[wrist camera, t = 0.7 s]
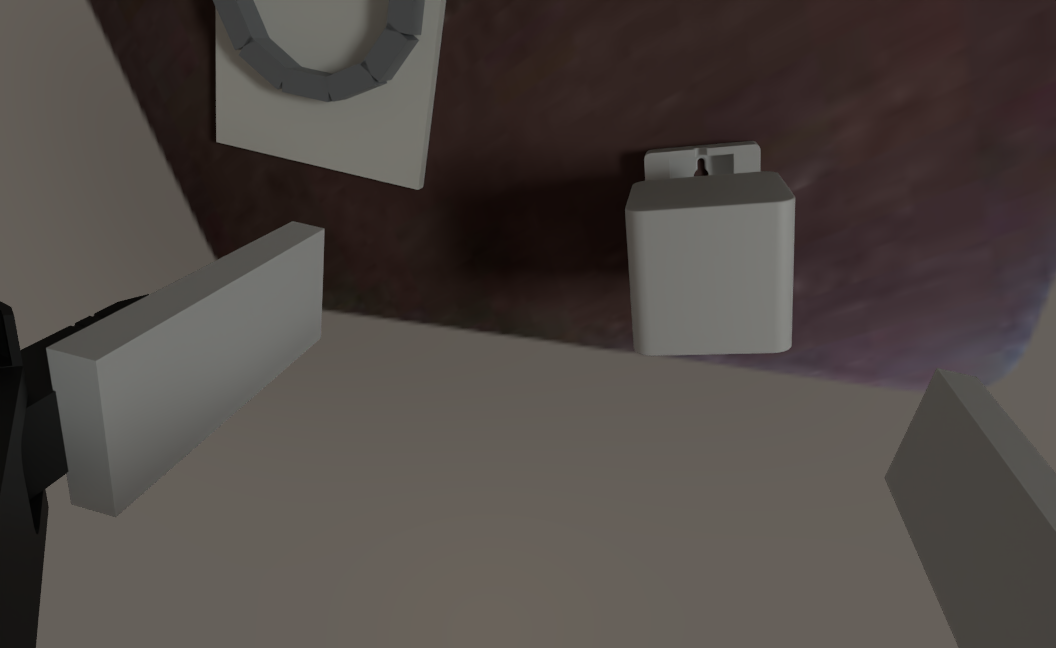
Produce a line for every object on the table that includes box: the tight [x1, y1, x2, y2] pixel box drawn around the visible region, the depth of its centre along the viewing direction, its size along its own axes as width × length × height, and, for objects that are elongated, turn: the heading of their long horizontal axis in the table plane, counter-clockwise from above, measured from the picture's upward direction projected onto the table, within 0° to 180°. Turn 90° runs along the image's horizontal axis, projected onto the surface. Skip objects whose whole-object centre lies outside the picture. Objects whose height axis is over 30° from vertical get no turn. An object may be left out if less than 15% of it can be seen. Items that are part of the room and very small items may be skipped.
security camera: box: [625, 141, 795, 356], centre depth 31 cm, size 6×7×10 cm
